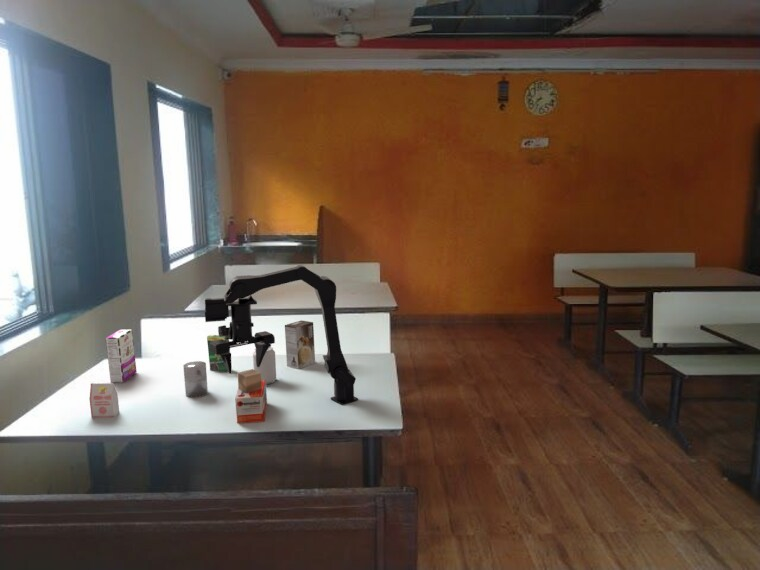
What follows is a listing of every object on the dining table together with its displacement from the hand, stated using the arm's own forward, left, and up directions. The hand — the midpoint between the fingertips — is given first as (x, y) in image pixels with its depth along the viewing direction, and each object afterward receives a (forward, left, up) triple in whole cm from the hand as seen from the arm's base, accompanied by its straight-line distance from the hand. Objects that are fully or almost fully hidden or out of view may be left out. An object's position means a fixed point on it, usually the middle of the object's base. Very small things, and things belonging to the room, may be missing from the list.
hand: (244, 370), depth 179 cm
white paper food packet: (+25, +34, -13) cm, 44 cm away
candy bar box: (+57, +20, -13) cm, 62 cm away
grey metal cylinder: (+24, +6, -13) cm, 28 cm away
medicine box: (-2, -1, -14) cm, 14 cm away
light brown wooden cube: (-2, -1, -5) cm, 6 cm away
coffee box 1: (+42, -10, -13) cm, 46 cm away
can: (+20, -17, -13) cm, 30 cm away
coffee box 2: (+28, -36, -13) cm, 48 cm away
